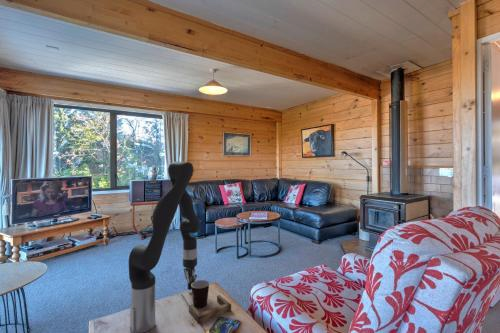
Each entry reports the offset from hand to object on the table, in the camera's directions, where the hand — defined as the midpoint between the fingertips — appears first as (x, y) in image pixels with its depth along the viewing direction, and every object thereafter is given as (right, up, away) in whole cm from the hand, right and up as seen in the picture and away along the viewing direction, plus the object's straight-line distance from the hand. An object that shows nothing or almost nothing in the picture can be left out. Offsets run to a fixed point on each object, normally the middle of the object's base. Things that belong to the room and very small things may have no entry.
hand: (190, 289), depth 132 cm
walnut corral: (+14, -1, -19) cm, 23 cm away
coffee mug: (+8, -2, -11) cm, 14 cm away
